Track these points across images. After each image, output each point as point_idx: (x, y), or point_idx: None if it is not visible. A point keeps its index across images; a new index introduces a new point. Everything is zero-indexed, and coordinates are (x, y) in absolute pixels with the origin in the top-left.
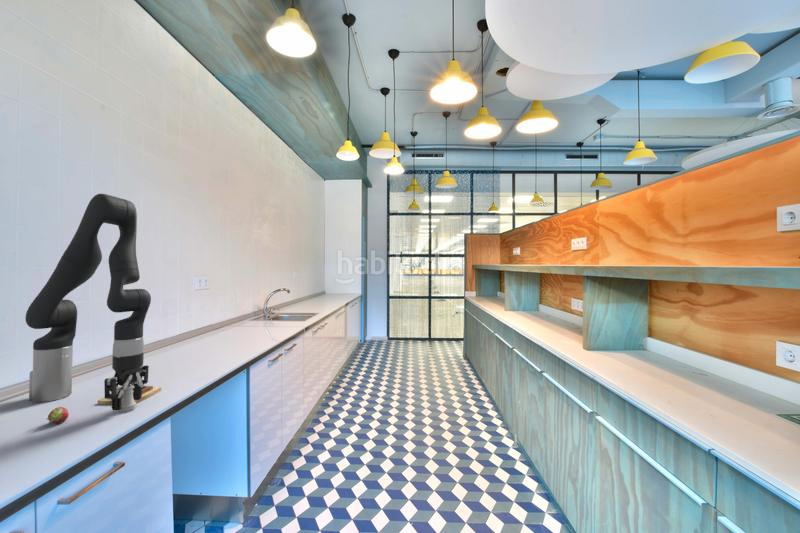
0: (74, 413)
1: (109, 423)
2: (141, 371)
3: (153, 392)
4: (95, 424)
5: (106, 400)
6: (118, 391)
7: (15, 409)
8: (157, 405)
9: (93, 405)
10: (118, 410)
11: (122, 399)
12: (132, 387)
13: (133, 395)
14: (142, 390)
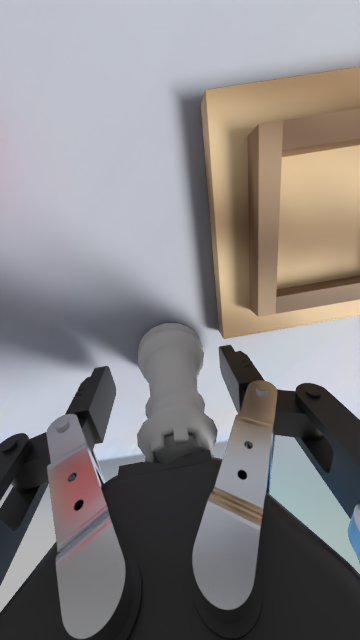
0: (53, 101)
1: (58, 394)
2: (356, 553)
3: (342, 315)
4: (29, 358)
5: (214, 167)
6: (326, 143)
7: None
8: (222, 411)
9: (180, 95)
10: (141, 339)
11: (151, 375)
12: None
13: (224, 359)
14: (329, 299)
